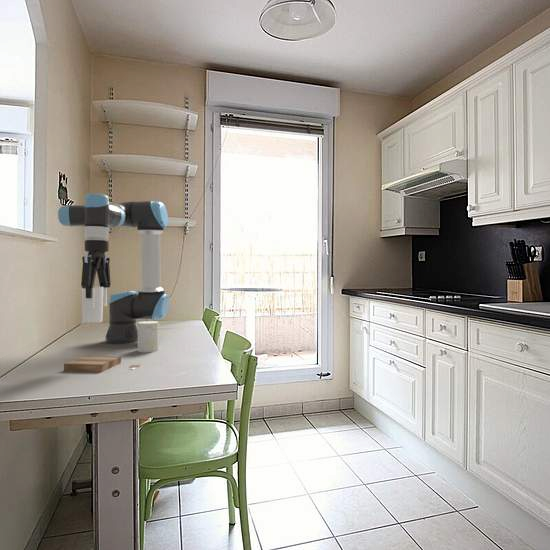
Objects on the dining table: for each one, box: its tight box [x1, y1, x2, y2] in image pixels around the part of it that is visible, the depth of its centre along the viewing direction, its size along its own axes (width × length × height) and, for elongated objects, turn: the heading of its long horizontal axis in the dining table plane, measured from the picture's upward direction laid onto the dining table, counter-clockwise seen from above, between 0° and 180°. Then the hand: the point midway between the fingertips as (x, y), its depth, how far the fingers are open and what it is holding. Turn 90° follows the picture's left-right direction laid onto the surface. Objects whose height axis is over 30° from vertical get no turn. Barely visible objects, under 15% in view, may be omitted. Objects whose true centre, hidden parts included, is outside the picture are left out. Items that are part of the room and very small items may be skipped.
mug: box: [81, 286, 104, 324], centre depth 142 cm, size 10×7×12 cm, turn 21°
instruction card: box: [119, 364, 141, 372], centre depth 140 cm, size 10×7×1 cm
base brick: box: [63, 355, 122, 373], centre depth 141 cm, size 13×13×3 cm
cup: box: [137, 320, 160, 353], centre depth 170 cm, size 8×8×12 cm
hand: (96, 307), depth 141 cm, fingers closed on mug, 7 cm apart
